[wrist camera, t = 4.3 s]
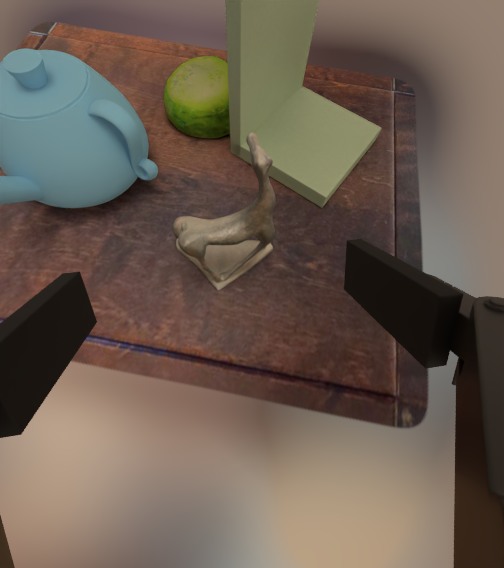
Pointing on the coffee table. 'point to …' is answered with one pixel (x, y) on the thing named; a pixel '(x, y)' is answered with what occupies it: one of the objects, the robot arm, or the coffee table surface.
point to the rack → (287, 99)
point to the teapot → (66, 133)
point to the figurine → (232, 230)
